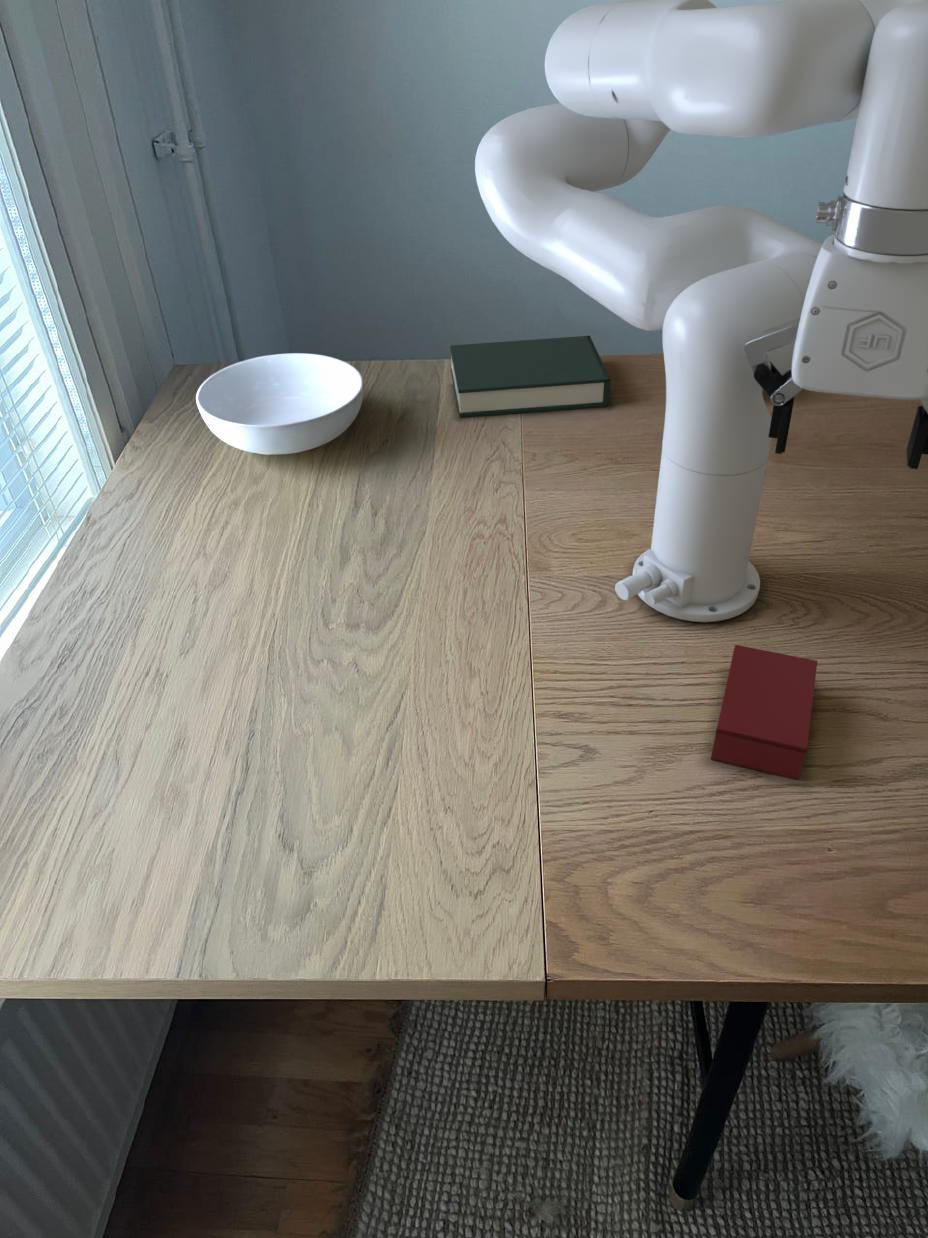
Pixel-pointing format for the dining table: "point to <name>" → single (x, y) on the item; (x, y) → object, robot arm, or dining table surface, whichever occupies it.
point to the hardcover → (528, 376)
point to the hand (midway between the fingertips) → (845, 452)
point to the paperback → (766, 712)
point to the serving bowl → (281, 402)
